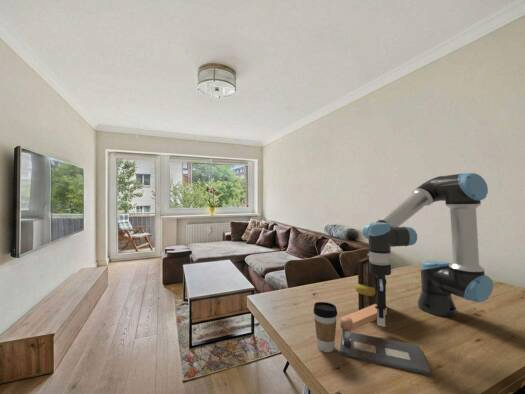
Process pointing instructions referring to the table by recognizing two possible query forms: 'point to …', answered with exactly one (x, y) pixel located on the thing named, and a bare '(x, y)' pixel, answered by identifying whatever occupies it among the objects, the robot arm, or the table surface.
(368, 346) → the plate
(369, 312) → the cable arm
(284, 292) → the table surface
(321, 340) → the coffee cup
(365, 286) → the book
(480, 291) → the robot arm
